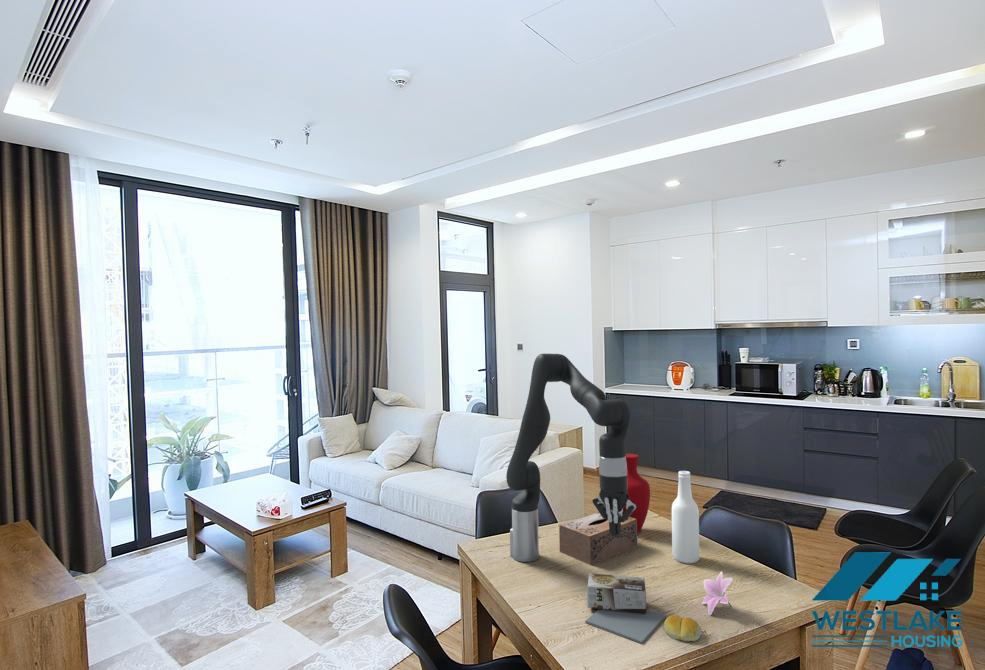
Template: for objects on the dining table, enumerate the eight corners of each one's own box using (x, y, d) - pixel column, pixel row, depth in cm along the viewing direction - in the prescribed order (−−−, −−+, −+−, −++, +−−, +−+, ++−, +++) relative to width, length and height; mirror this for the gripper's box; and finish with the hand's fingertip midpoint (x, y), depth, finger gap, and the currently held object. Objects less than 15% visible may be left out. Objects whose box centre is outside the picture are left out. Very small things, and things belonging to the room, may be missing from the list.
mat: (585, 622, 144) (585, 620, 144) (612, 599, 156) (612, 597, 156) (641, 643, 134) (641, 641, 134) (666, 617, 146) (666, 614, 146)
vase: (613, 537, 204) (612, 459, 204) (611, 523, 218) (610, 450, 218) (653, 539, 201) (651, 460, 201) (648, 525, 216) (647, 451, 216)
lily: (706, 597, 159) (691, 571, 157) (746, 590, 153) (731, 563, 152) (707, 630, 148) (691, 602, 147) (750, 623, 143) (734, 594, 142)
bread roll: (668, 621, 144) (667, 607, 144) (703, 631, 139) (702, 615, 139) (660, 636, 137) (659, 621, 137) (696, 646, 132) (696, 630, 132)
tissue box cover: (606, 535, 207) (606, 509, 207) (637, 546, 196) (636, 519, 196) (559, 552, 191) (559, 524, 191) (590, 565, 180) (589, 536, 180)
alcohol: (675, 551, 189) (673, 467, 189) (701, 556, 185) (699, 470, 185) (669, 561, 182) (668, 473, 182) (697, 566, 177) (695, 476, 177)
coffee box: (587, 608, 150) (646, 614, 146) (587, 585, 150) (646, 591, 146) (589, 594, 159) (645, 599, 155) (589, 572, 159) (645, 577, 155)
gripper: (585, 472, 148) (587, 534, 148) (629, 478, 139) (631, 544, 139) (598, 466, 154) (600, 527, 153) (641, 472, 145) (643, 536, 145)
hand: (615, 535), depth 146 cm, fingers closed
